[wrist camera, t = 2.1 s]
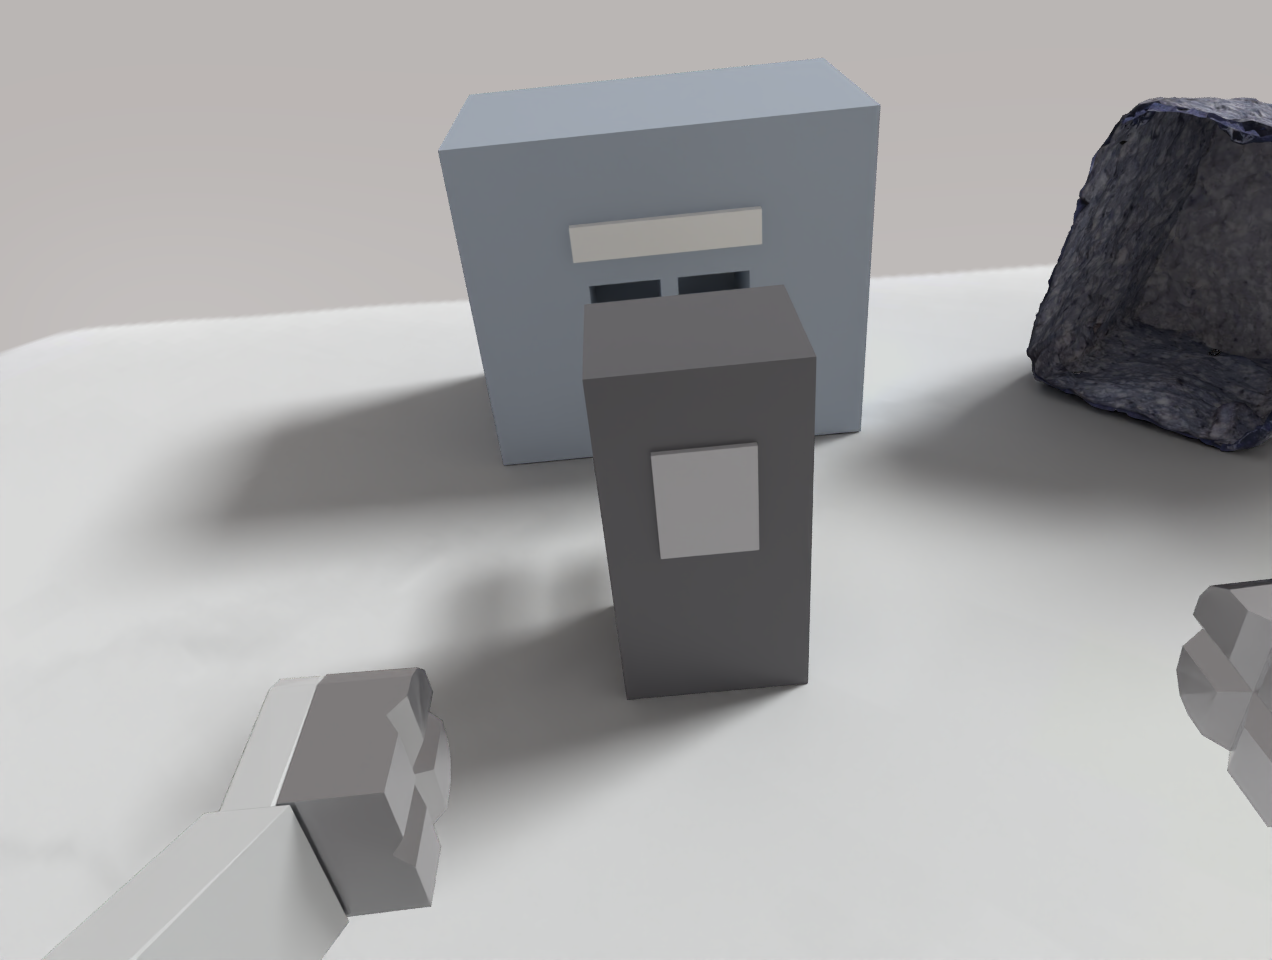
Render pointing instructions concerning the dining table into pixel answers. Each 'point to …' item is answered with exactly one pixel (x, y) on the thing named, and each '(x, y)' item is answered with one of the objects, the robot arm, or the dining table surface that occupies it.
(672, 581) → the plug
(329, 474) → the dining table surface
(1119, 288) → the stone
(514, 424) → the socket
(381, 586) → the dining table surface
